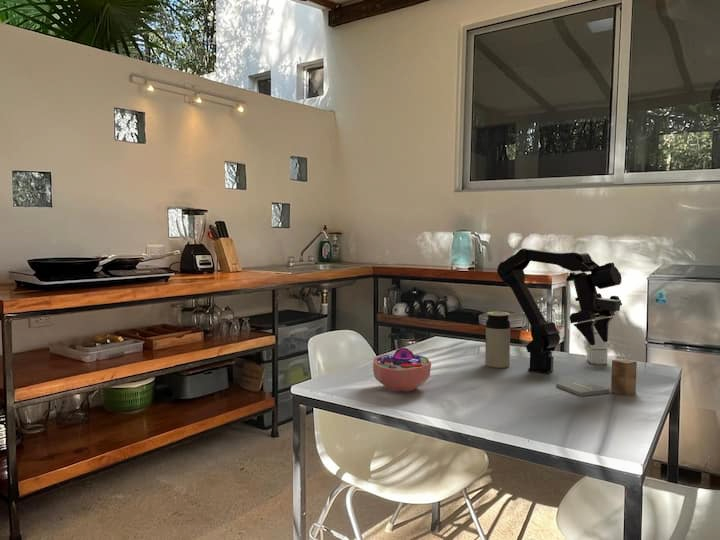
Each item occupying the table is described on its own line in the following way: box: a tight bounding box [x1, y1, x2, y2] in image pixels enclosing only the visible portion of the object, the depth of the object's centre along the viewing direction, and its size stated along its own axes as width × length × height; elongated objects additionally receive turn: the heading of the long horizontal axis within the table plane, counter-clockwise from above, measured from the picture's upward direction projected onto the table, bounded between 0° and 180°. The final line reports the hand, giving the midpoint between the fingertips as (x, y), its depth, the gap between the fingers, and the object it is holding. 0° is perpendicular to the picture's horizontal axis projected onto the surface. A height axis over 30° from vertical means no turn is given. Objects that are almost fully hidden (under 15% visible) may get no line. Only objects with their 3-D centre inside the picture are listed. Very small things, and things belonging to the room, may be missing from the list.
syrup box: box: [586, 319, 609, 365], centre depth 192 cm, size 6×6×14 cm
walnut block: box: [610, 358, 638, 397], centre depth 154 cm, size 4×4×9 cm
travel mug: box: [484, 311, 511, 369], centre depth 186 cm, size 8×8×18 cm
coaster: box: [555, 380, 611, 397], centre depth 157 cm, size 10×10×1 cm
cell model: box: [372, 347, 432, 393], centre depth 157 cm, size 17×20×11 cm
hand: (599, 343), depth 164 cm, fingers open, 9 cm apart
